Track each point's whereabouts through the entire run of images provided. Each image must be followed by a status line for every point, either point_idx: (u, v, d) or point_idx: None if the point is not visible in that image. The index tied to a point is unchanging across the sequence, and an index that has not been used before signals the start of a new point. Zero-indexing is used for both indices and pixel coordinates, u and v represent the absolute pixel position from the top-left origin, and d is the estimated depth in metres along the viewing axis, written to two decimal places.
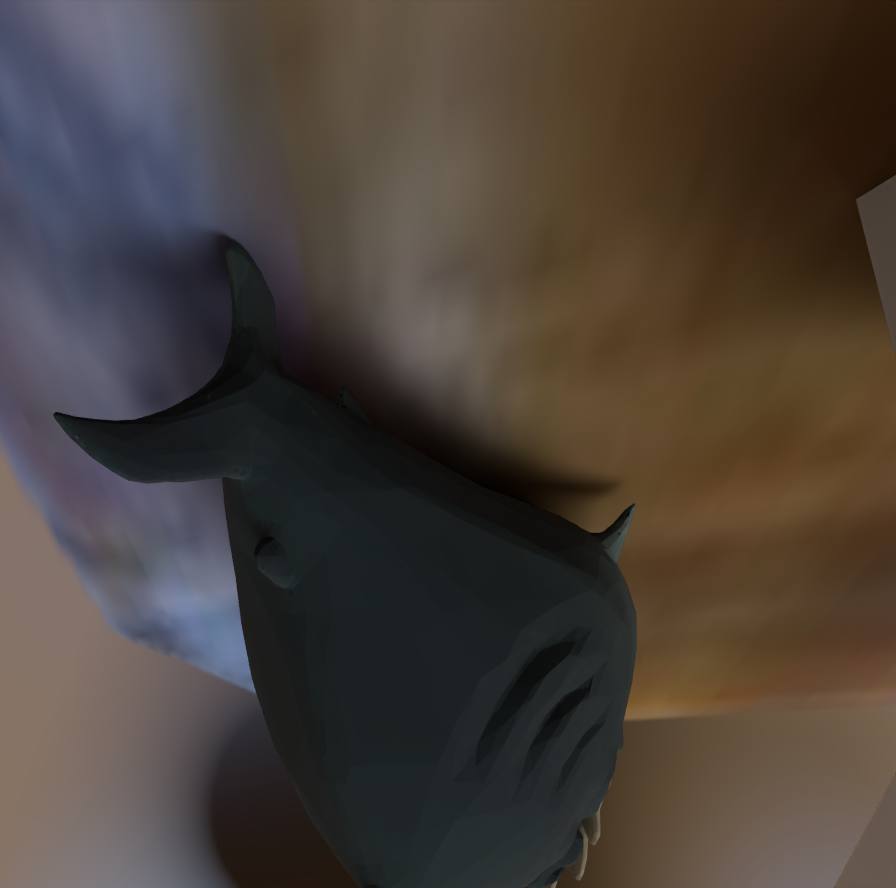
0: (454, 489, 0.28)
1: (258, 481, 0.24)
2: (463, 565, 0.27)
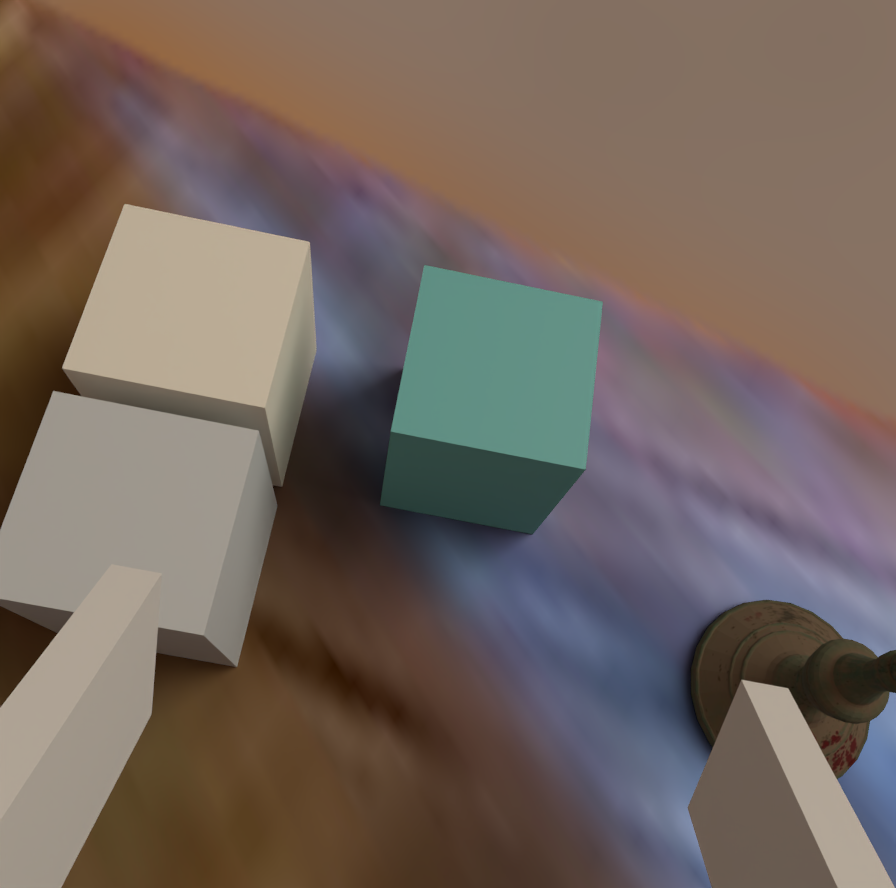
0: None
1: None
2: None
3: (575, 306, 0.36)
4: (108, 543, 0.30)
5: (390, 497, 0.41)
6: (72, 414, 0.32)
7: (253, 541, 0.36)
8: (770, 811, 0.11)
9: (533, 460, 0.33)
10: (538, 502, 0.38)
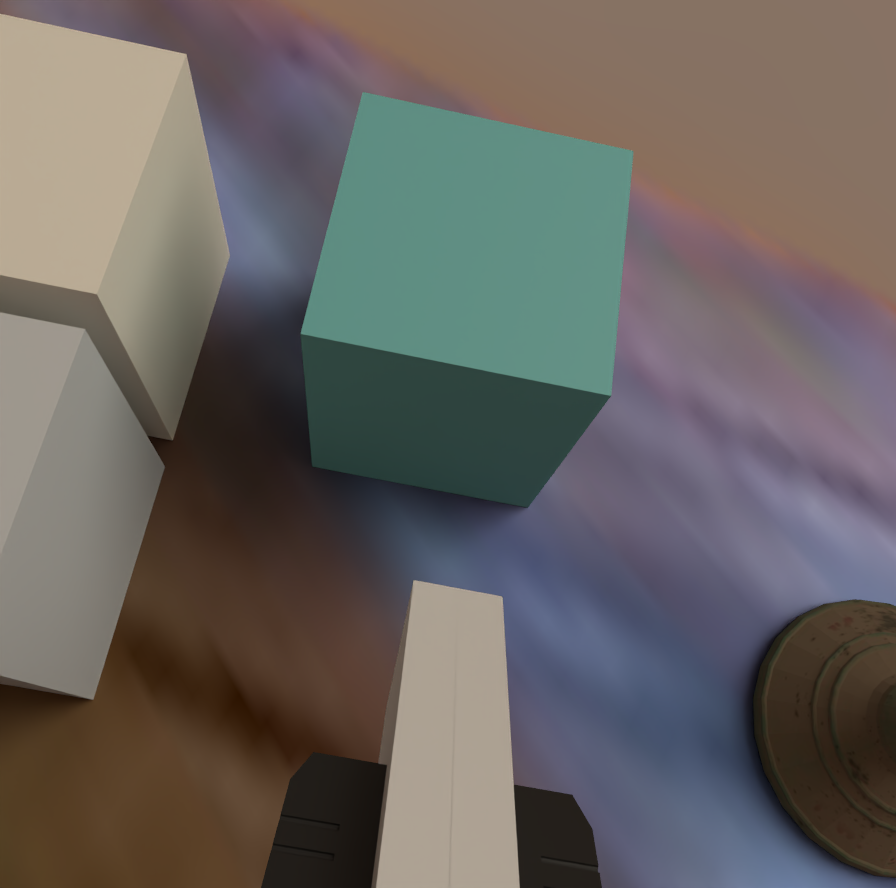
0: None
1: None
2: None
3: (592, 156, 0.24)
4: None
5: (323, 453, 0.28)
6: None
7: (104, 513, 0.24)
8: None
9: (528, 380, 0.21)
10: (536, 458, 0.26)
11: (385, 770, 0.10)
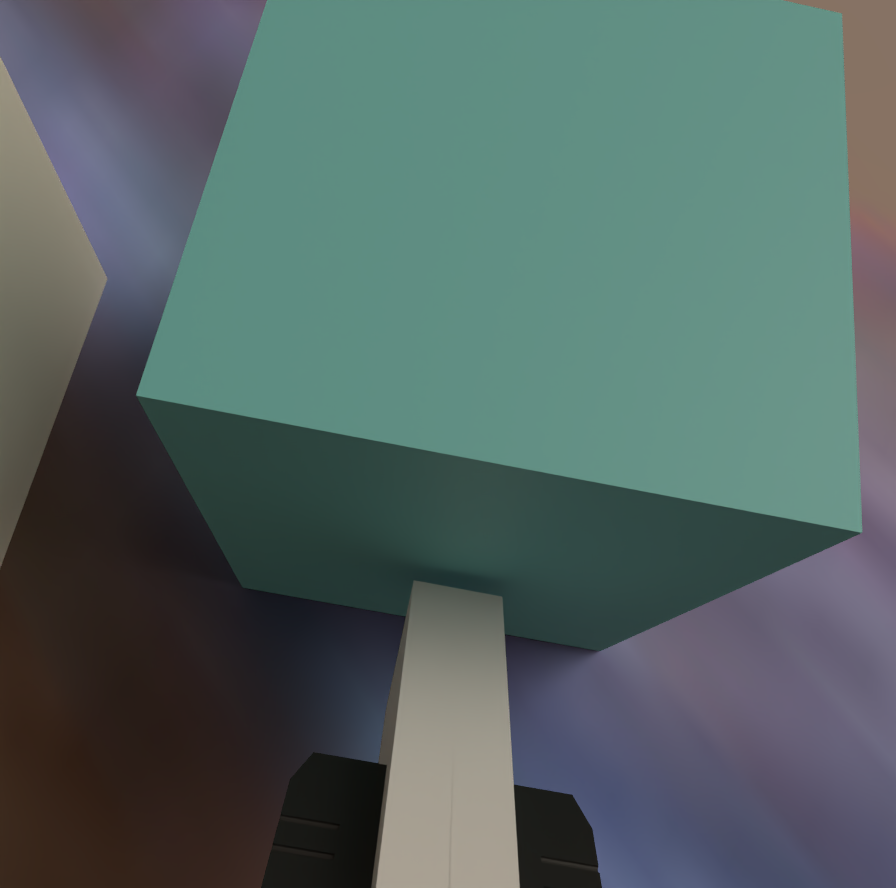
0: None
1: None
2: None
3: (764, 22, 0.12)
4: None
5: (256, 575, 0.16)
6: None
7: None
8: None
9: (670, 499, 0.09)
10: (640, 603, 0.14)
11: (385, 770, 0.10)
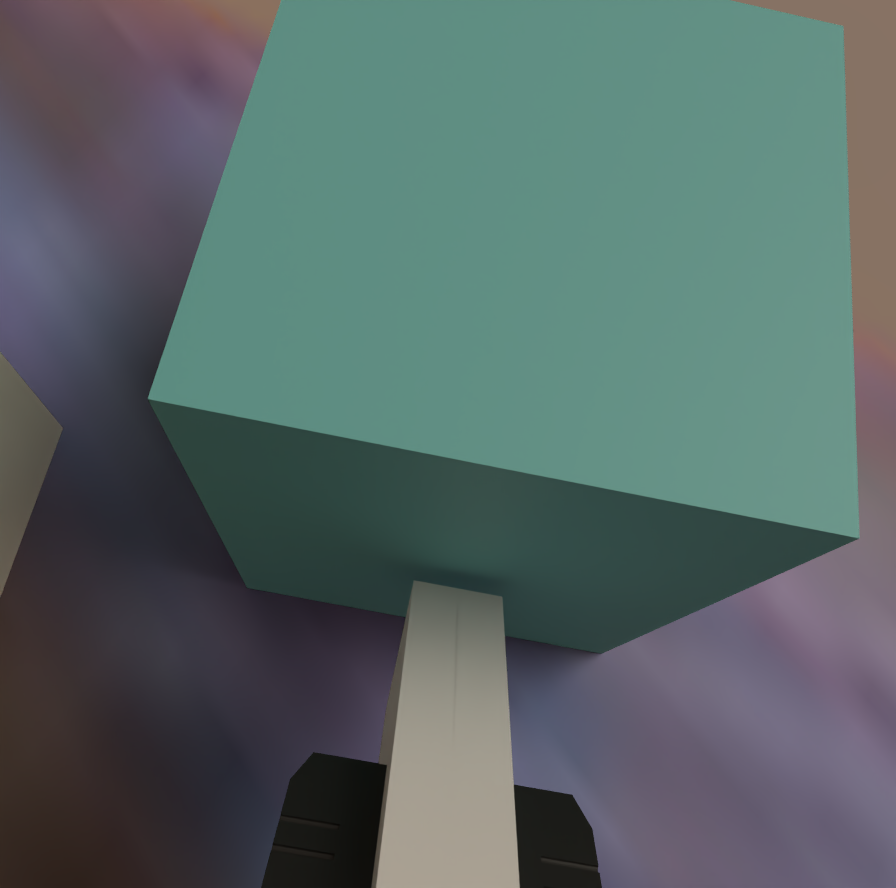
0: None
1: None
2: None
3: (766, 34, 0.12)
4: None
5: (261, 575, 0.17)
6: None
7: None
8: None
9: (671, 503, 0.09)
10: (641, 607, 0.14)
11: (385, 770, 0.10)
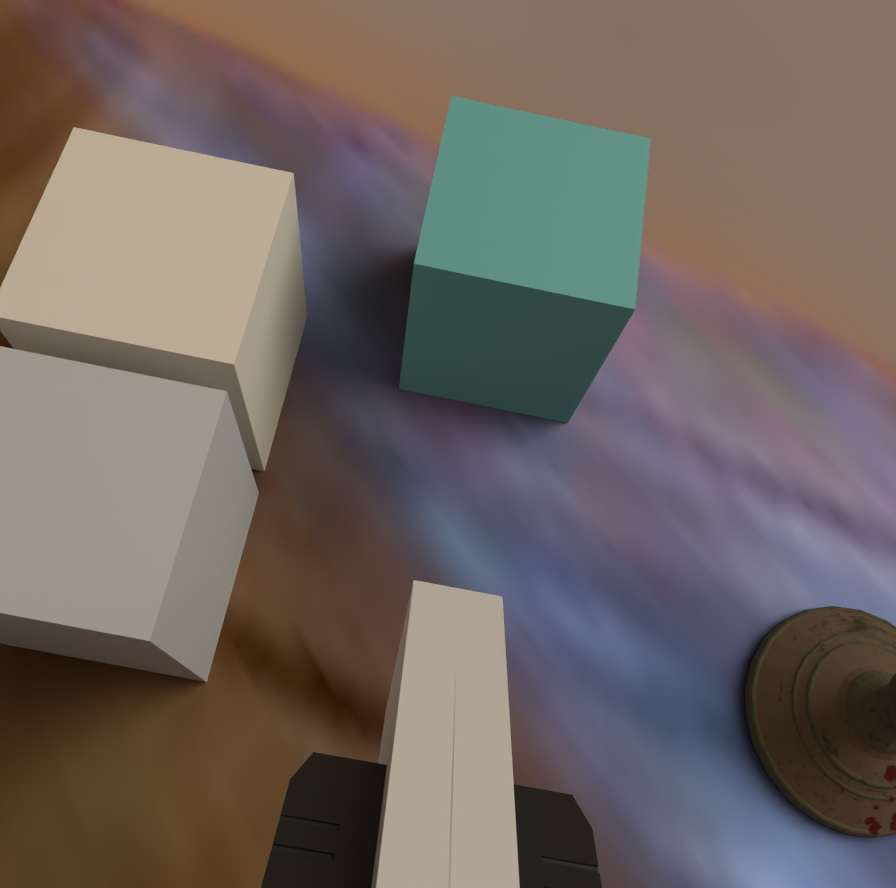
0: None
1: None
2: None
3: (620, 142, 0.32)
4: (35, 525, 0.24)
5: (410, 375, 0.37)
6: None
7: (224, 530, 0.30)
8: None
9: (575, 298, 0.29)
10: (577, 370, 0.34)
11: (385, 770, 0.10)
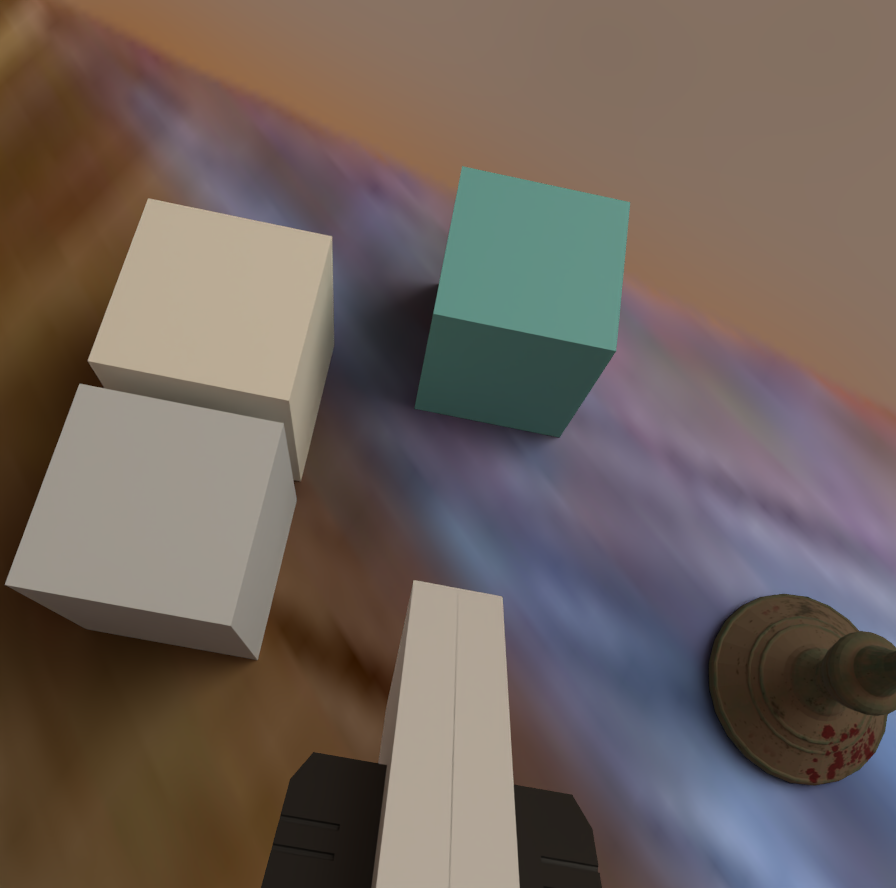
0: None
1: None
2: None
3: (604, 206, 0.38)
4: (135, 534, 0.30)
5: (425, 398, 0.43)
6: (98, 406, 0.32)
7: (275, 534, 0.36)
8: None
9: (566, 342, 0.35)
10: (568, 396, 0.40)
11: (385, 770, 0.10)
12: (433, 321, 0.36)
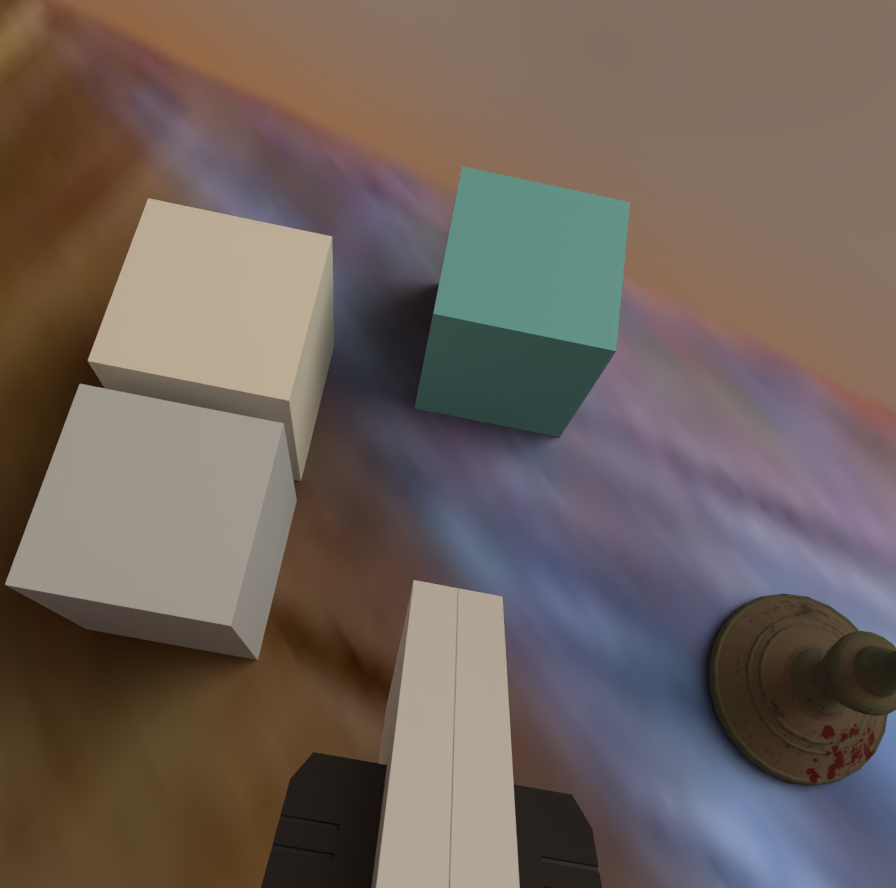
0: None
1: None
2: None
3: (604, 205, 0.38)
4: (135, 534, 0.30)
5: (425, 398, 0.43)
6: (98, 406, 0.32)
7: (275, 534, 0.36)
8: None
9: (566, 342, 0.35)
10: (568, 396, 0.40)
11: (385, 770, 0.10)
12: (433, 321, 0.36)
